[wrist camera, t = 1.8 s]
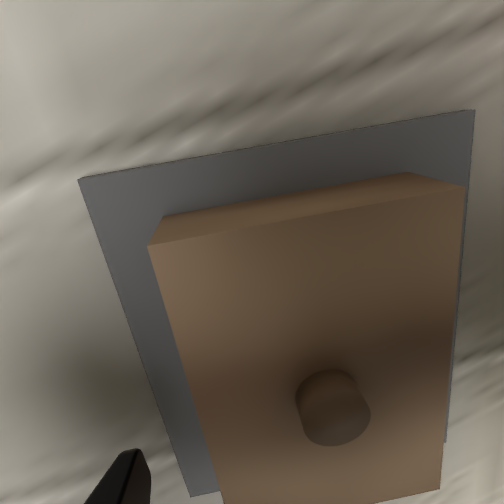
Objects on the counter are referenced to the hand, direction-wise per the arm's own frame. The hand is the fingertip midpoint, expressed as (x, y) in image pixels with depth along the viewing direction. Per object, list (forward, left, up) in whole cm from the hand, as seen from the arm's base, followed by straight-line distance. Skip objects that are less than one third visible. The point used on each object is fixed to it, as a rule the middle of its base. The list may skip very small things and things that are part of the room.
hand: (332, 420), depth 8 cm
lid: (0, 0, -3) cm, 3 cm away
